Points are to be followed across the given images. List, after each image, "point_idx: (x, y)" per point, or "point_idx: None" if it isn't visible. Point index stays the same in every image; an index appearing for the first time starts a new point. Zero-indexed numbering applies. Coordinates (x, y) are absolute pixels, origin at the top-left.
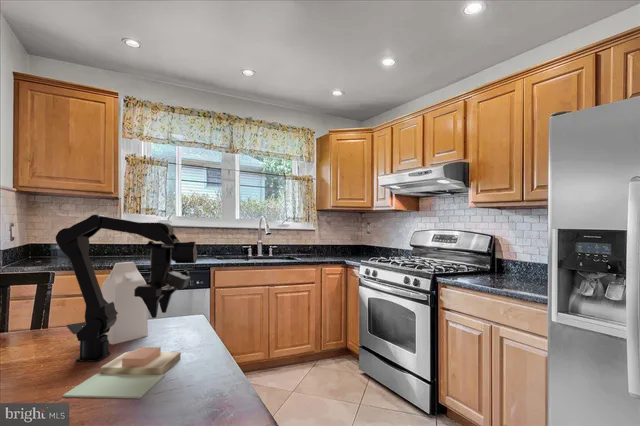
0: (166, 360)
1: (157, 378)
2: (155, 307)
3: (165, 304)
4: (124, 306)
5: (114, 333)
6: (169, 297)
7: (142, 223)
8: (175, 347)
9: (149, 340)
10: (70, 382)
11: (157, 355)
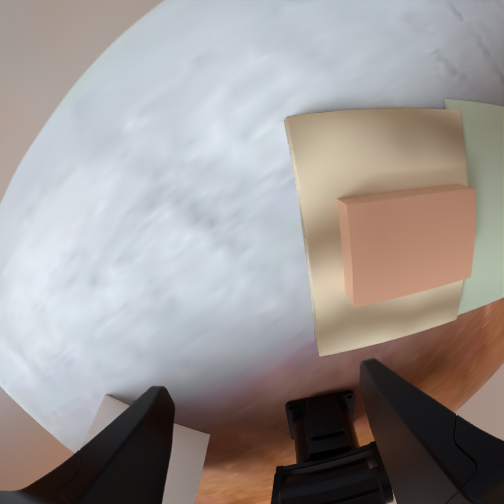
0: (398, 126)
1: (468, 110)
2: (452, 422)
3: (138, 451)
4: None
5: (200, 458)
6: (73, 493)
7: None
8: (152, 238)
9: (133, 373)
10: (470, 335)
11: (368, 195)
